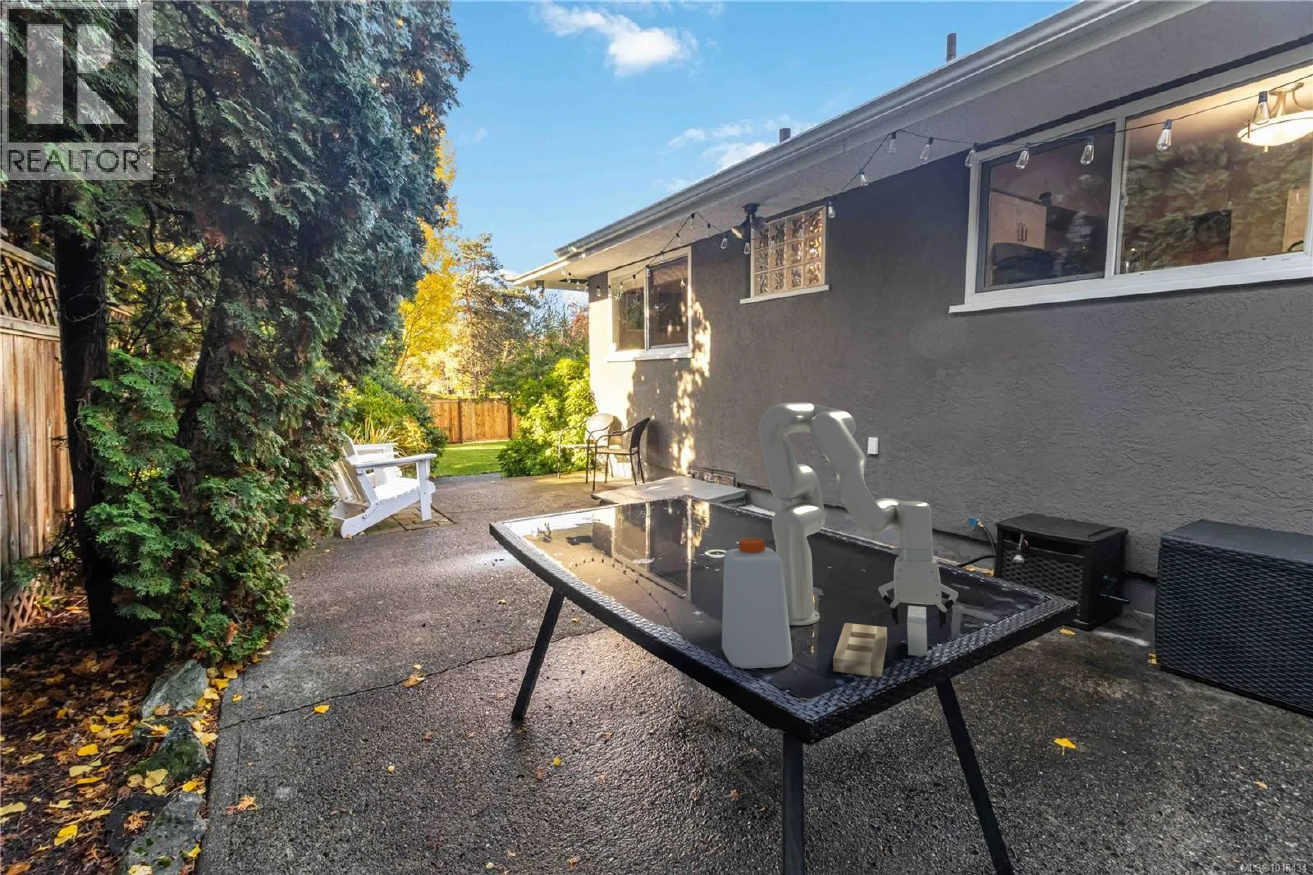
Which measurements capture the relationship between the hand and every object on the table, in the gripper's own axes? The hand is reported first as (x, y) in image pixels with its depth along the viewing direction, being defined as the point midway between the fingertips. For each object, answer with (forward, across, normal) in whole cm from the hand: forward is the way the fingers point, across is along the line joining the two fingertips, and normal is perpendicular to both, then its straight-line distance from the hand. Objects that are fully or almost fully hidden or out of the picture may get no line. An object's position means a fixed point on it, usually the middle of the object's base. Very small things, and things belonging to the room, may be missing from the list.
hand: (918, 624), depth 138 cm
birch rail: (+6, -12, -8) cm, 16 cm away
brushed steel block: (+6, 0, 0) cm, 6 cm away
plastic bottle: (+5, -35, -17) cm, 40 cm away
